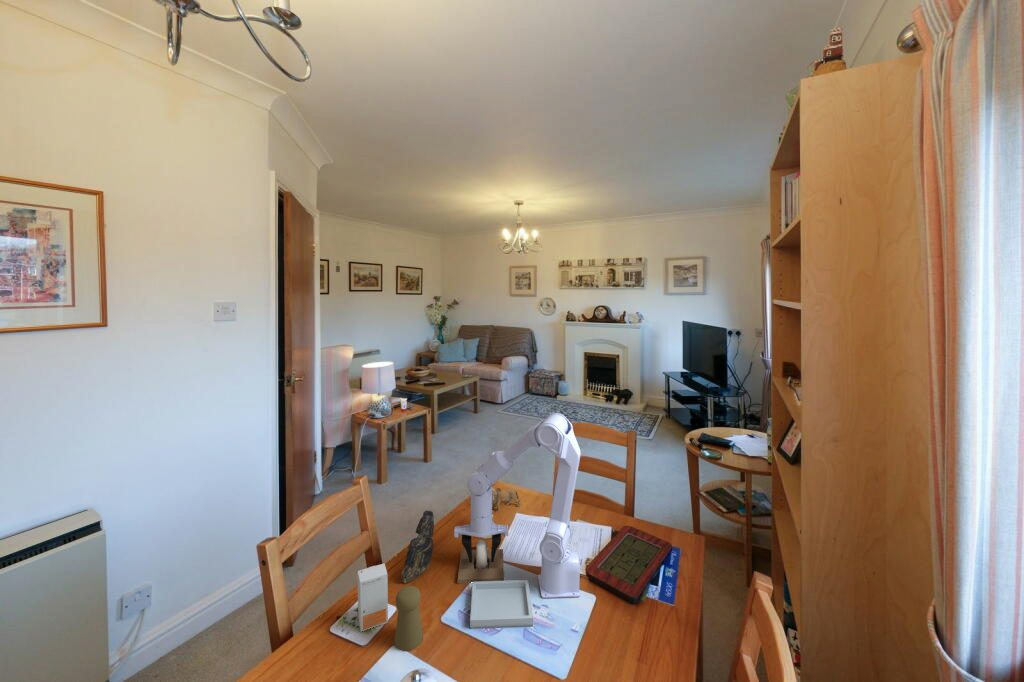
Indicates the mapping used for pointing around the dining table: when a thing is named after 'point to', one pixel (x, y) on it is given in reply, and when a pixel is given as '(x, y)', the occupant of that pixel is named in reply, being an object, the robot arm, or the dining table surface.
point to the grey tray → (501, 604)
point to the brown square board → (478, 575)
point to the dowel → (481, 554)
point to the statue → (420, 549)
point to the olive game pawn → (408, 619)
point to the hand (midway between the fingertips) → (481, 559)
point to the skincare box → (372, 597)
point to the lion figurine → (504, 497)
